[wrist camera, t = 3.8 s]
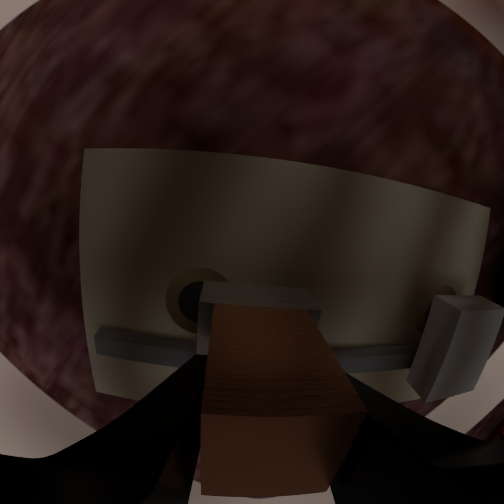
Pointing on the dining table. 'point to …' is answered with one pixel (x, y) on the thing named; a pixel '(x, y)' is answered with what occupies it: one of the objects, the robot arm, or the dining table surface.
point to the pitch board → (280, 265)
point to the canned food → (498, 433)
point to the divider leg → (270, 394)
